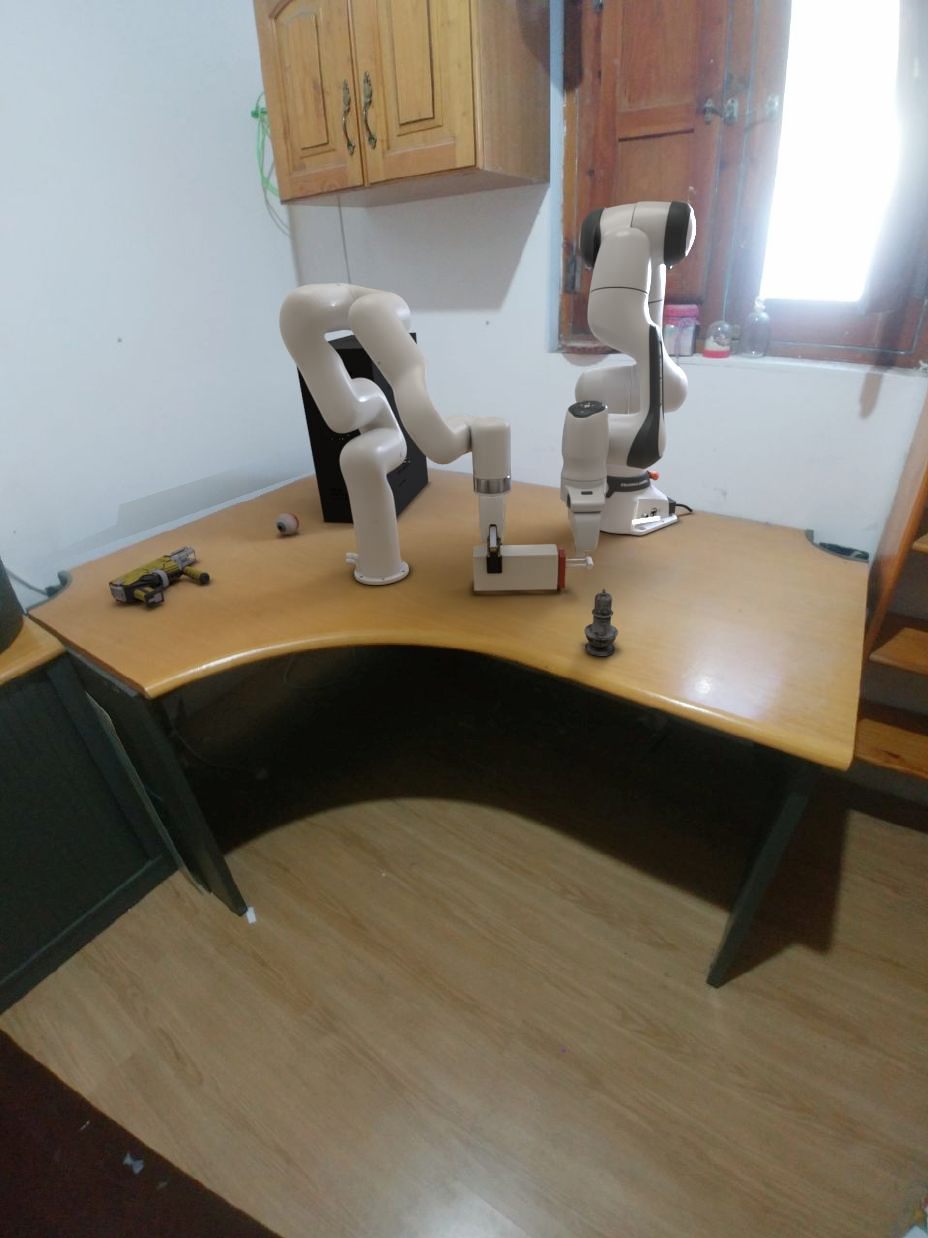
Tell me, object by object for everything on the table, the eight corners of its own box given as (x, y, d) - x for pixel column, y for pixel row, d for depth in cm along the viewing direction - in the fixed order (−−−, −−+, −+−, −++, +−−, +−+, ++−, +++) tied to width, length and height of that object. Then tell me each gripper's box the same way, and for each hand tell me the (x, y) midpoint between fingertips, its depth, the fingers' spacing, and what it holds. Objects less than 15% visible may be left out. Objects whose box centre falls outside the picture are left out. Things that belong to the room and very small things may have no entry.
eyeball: (273, 537, 164) (268, 516, 161) (287, 528, 169) (282, 508, 166) (291, 539, 161) (286, 518, 158) (305, 530, 166) (301, 510, 163)
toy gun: (232, 554, 147) (182, 544, 151) (158, 595, 127) (102, 582, 130) (235, 572, 149) (185, 561, 153) (162, 615, 129) (107, 601, 133)
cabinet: (554, 581, 132) (556, 543, 128) (556, 593, 128) (557, 554, 123) (475, 583, 134) (473, 545, 129) (474, 594, 129) (472, 556, 124)
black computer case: (391, 523, 168) (370, 347, 145) (324, 521, 172) (293, 350, 150) (428, 482, 199) (416, 332, 177) (370, 481, 204) (351, 334, 181)
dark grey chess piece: (616, 658, 105) (622, 597, 99) (582, 655, 106) (586, 595, 100) (616, 640, 110) (621, 581, 104) (583, 638, 111) (587, 580, 105)
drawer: (590, 578, 131) (591, 548, 127) (592, 587, 127) (594, 556, 123) (487, 580, 132) (486, 550, 129) (487, 589, 129) (486, 558, 125)
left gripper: (475, 471, 127) (478, 550, 136) (471, 498, 112) (475, 585, 121) (510, 470, 126) (511, 549, 135) (511, 497, 112) (512, 584, 121)
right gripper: (562, 475, 128) (560, 536, 134) (571, 506, 110) (569, 575, 117) (592, 474, 127) (588, 535, 134) (606, 505, 109) (602, 574, 116)
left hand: (494, 565), depth 128 cm, fingers closed on cabinet, 5 cm apart
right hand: (579, 554), depth 125 cm, fingers closed
